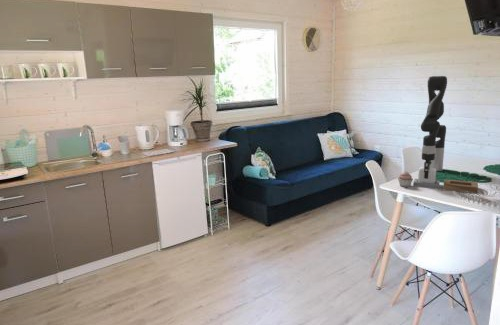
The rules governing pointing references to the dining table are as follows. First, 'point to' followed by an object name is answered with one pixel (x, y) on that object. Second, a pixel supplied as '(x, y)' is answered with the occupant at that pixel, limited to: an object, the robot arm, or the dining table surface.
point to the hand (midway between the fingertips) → (426, 176)
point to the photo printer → (430, 175)
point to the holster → (426, 184)
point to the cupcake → (405, 179)
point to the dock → (460, 185)
